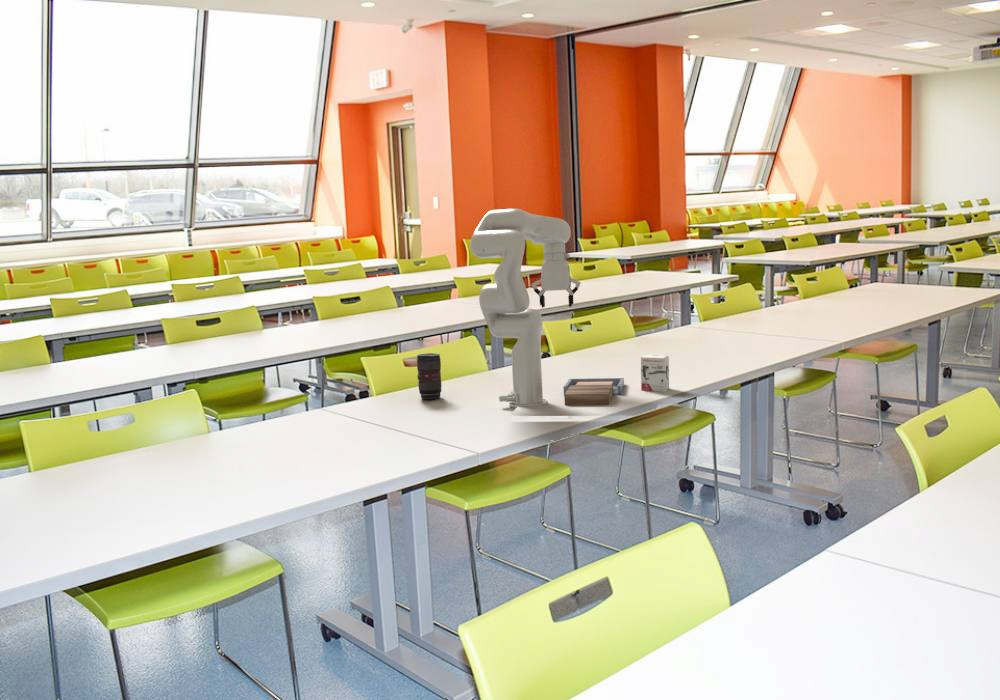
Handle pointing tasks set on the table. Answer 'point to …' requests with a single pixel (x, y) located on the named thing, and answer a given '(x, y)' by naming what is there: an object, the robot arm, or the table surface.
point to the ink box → (655, 373)
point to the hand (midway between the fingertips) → (556, 306)
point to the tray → (616, 381)
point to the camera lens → (429, 375)
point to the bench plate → (588, 395)
